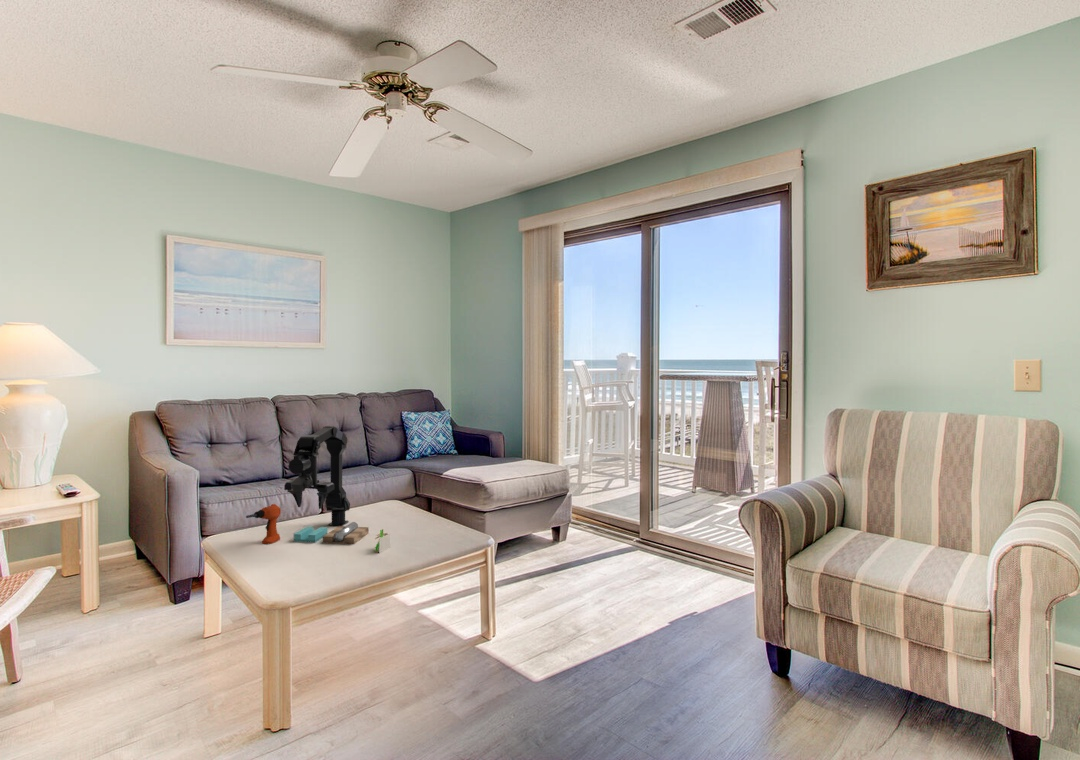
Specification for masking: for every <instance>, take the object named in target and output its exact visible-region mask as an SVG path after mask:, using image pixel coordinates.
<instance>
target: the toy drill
mask: <svg viewBox="0 0 1080 760" xmlns="http://www.w3.org/2000/svg"><path fill="white" fill-rule="evenodd" d="M281 511H282V509H281V507H280V506H279V505H277V504H276V503H273V504H271V505H268V506H264V507H263V508H261V509H259V510H257V511H255V512H254V513H252V514H247V515H246V516H245V518H246V519H249V518H255V519H263V520H267V522H266V526H265V530H266V535H265V537H263V539H262V540H261V544H263V545H272V544H274V543H277V542H278V541H280V540H281V536H280V533H278V530H277V521H278V519H279V517H280V516H281Z"/></svg>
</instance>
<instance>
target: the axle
mask: <svg viewBox="0 0 1080 760" xmlns="http://www.w3.org/2000/svg"><path fill="white" fill-rule="evenodd" d="M358 527H359V524H358V523H357V522H355V521H352V522H350V523H347V525H345V527H344V528H342V529H341V530H339V531H338V532H336V533H335V534H334V536H333V538H334V540H335V541H336V542H341V541H343V540H344V537H346V536H347V535H348V534H350V533H351V532H353V531H354V530H356V529H357V528H358Z"/></svg>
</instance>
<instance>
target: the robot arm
mask: <svg viewBox="0 0 1080 760" xmlns="http://www.w3.org/2000/svg"><path fill="white" fill-rule="evenodd" d="M322 443H325V445H326V446H325V447H326V450H327V452H328V454H329V455H330V482H329V481H324V482H322V483H320V479H318V474H319V473H320V470H319V469H318V462H317V461H318V458H317V456H318V455H319V454H320V453H319V449H320V448H321V445H322ZM347 443H348V438H347V435H346V434H345V433H344V432H343V431H341V430H339V429H338V428H337V427H336V426H333V425H331V426H330V425H326V426H323V427H322V428H321V429H320V430H317V431H316V432H314V433H313V434H310V435H309V434H308V435H303V436H300V437H299V438H298V440H297V442H296V445H295V448H294V451H293V454H292V455H293V459H292V460H290V461H289V463H288V470H289V471H290V473H292V474H294V475H298V476H297V477H295V479H292V480H290V481H286V482H285V483H284V486H283V487H284V491H287V493H290V494H291V495H292V496H293V498H294V501H295V503H296V505H297V508H301V506H302V502H303V501H302V499H303V498H302V497H303V493H304V492H305V490H306V489H309V490H310V489H311V490H317V492H316V495H317V496H318V509H319V510H322V508H323V506H324V504H325V507H326V508H325V509H326V512H328V511H329V512H331V522H329V523H328V524H327V525H328V526H333V527H335V526H336V527H339V526H344V525H346V524H348V523H349V520H346V512H348V511H350V508H351V502H350V501H349V500H348V499H349V498H348V497H347V492H346V490H345V489H344V486H343V453H344V452H345V450H346V448H347Z"/></svg>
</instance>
